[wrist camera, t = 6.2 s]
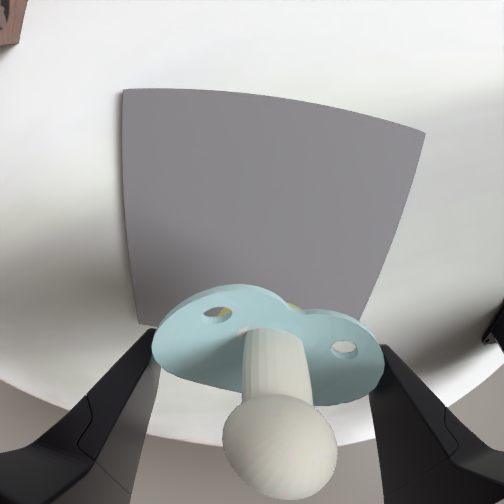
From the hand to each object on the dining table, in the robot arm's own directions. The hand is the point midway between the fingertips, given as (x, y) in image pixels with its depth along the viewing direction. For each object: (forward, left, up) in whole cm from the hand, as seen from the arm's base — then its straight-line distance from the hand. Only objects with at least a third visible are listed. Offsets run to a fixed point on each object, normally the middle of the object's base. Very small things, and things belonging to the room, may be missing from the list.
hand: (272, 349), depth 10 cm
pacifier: (0, +1, -1) cm, 1 cm away
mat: (0, 0, -7) cm, 7 cm away
